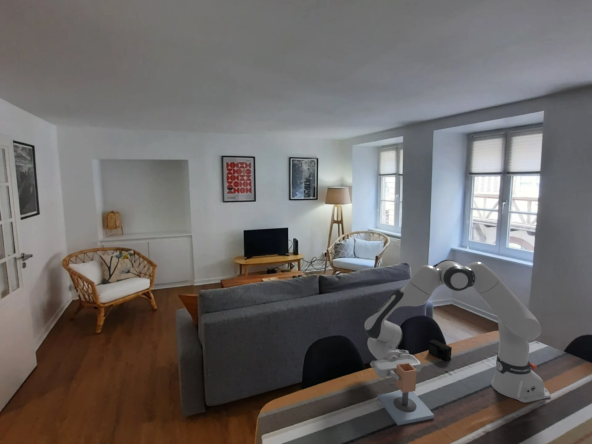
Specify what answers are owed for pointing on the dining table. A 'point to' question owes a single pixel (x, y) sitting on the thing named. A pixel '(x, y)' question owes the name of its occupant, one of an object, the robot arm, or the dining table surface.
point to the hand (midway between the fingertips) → (407, 377)
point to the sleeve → (406, 377)
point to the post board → (405, 407)
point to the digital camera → (440, 350)
